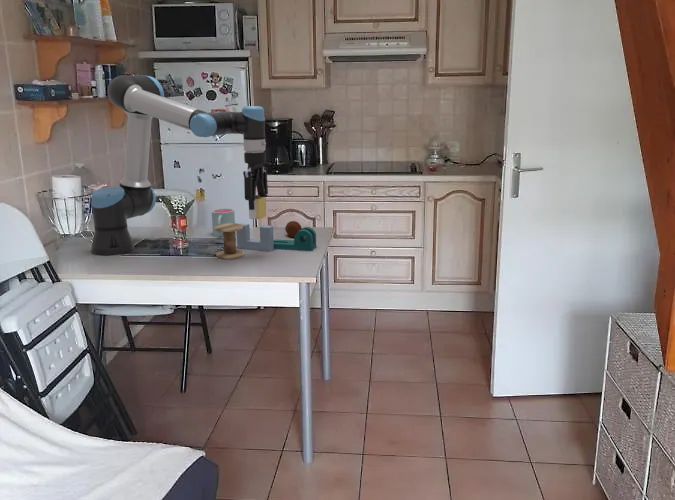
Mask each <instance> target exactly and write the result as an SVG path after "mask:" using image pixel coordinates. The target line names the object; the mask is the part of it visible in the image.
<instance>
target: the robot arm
mask: <svg viewBox="0 0 675 500" xmlns="http://www.w3.org/2000/svg"><path fill="white" fill-rule="evenodd" d="M107 86H108V87H107V95H108V99H109V101H110V102H111V104H113V105H114V106H115V107H117V108H118V109H121V110H123V112H125V114H126V115H127V126H126V142H125V161H124V175H123V178H122V179H120V181H119V186H117V185H116V186H114V185H113V186H108V187H101V188H99V189H96V190H94V191H93V192H92V194H91V202H90V203H91V205H90V206H91V208H92V217H93V225H94V234H93V238H92V244H91V253H92V254H95V255H99V256H113V255H120V254H121V255H122V254H125V253H126V254H127V253H129V252H132V251H133V250H134V249H135V245H134V244H135V243H134V241H133V240H132V236H131V235H130V232H129V229H128V219H133V218H136V217H141V216H144V215H146V214H149V213H150V212H151V211H152V210H153V209H154V207H155V205H156V202H157V200H156V199H157V197H156V193H155V192H154V188H152V183H151V182H150V181H149V179H148V175H149V173H148V172H149V160H150V159H149V158H150V149H151V147H150V146H151V134H152V131H151V130H152V121H153V118H156V119H157V120H160V121H164V122H166V123H169V124H173V125H175V126H177V127H180V128H183V129H185V130H189V131H191V132H192V133H193V134H194V136H196V137H199V138H210V137H215V136H222V135H230V134H233V135H243V150H244V151H245V152H244V153H243V155H244V156H243V159H244V164H247V170H246V171H245V170H243V172H242V173H243V185H244V189H243V190H244V200H245V201H248V217H249V218H252V219H253V220H258V219H257V204H256V200H255V195H260V197H266V198H267V197H268V194H269V190H268V167H267V166H264V164H265V163H266V162H267V153H266V145H267V142H266V131H265V129H266V124H265V123H266V119H265V110H264V107H262V106H259V105H258V106H257V105H256V106H255V105H253V106H252V105H250V106H249V105H247V106H243V107H242V108H241V109H242V110H241V111H226V110H225V111H216V112H206V111H203V110H201V109H199V108H195V107H192V106H191V105H187V104H184V103H182V102H178V101H176V100H173V99H170V98H167V97H165V92H164V88H163V86H162V84H160V82H159V80H157V78H155V77H154V76H151V75H142V74H140V75H139V74H138V75H135V74H134V75H124V74H123V75H117V76H116V77H114V78H113V79H111V80H110V82H109V84H108V85H107ZM256 192H257V194H256ZM252 219H251V220H252Z"/></svg>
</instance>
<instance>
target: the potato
mask: <svg viewBox="0 0 675 500" xmlns="http://www.w3.org/2000/svg"><path fill="white" fill-rule="evenodd" d="M302 228H303V227H302V226H301V224H300V223H299V222H298V221H296V220H291V221H288V222H287V223H286V225H285V227H284V230H285V233H286V234H287V235H288V236H289V237H290V238H294V236H295V234H296V233H297V232H298V231H300V230H301V229H302Z"/></svg>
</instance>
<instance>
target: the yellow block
mask: <svg viewBox="0 0 675 500" xmlns="http://www.w3.org/2000/svg"><path fill="white" fill-rule="evenodd" d="M255 200H256V204H257V219H256V220H261V219H264V218H266V217H267V216H268V215H267V197H260V195H258V194H255ZM249 219H251V220H252V218H249Z"/></svg>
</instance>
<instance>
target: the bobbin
mask: <svg viewBox="0 0 675 500" xmlns="http://www.w3.org/2000/svg"><path fill="white" fill-rule="evenodd" d="M241 224H242V223H236V222H235V223H226V224H219V225H216V226H215V230H216V231H219V232H223V237H222V239H223V250H219V251H217V252H216V254H215V255H216V256H215V257H216V258H218V259H220V260H235V259H240V258H243V257H244V256H245V251H244V250H242V249H237V235H236V232H237V231H240V230H242V229H243V225H241Z"/></svg>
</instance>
